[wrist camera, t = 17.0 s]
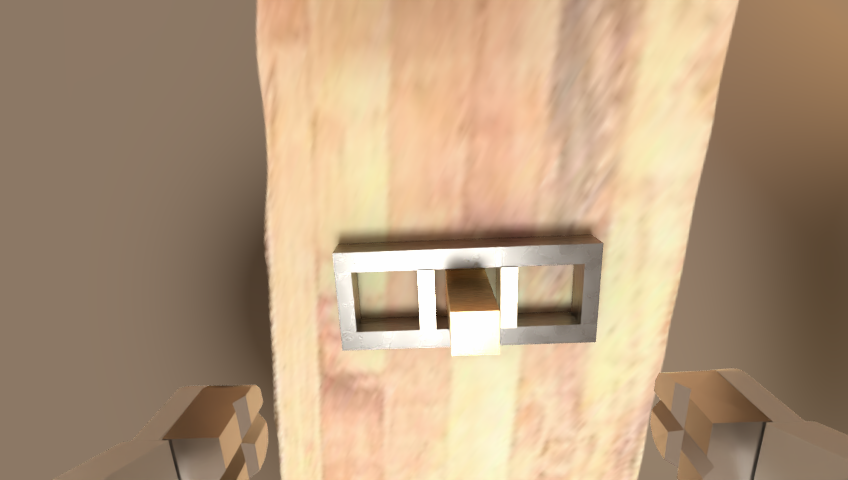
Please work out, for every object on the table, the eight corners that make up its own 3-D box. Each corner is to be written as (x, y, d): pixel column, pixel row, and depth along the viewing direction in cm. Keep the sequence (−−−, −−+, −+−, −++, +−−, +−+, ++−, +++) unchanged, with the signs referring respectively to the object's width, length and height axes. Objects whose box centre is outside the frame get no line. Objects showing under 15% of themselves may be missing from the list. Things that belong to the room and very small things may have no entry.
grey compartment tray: (338, 244, 44) (332, 254, 41) (591, 234, 44) (604, 243, 41) (347, 336, 47) (342, 351, 44) (585, 327, 47) (596, 343, 44)
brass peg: (445, 269, 45) (450, 312, 36) (484, 268, 45) (499, 310, 36) (446, 305, 46) (451, 355, 37) (484, 303, 46) (499, 354, 37)
